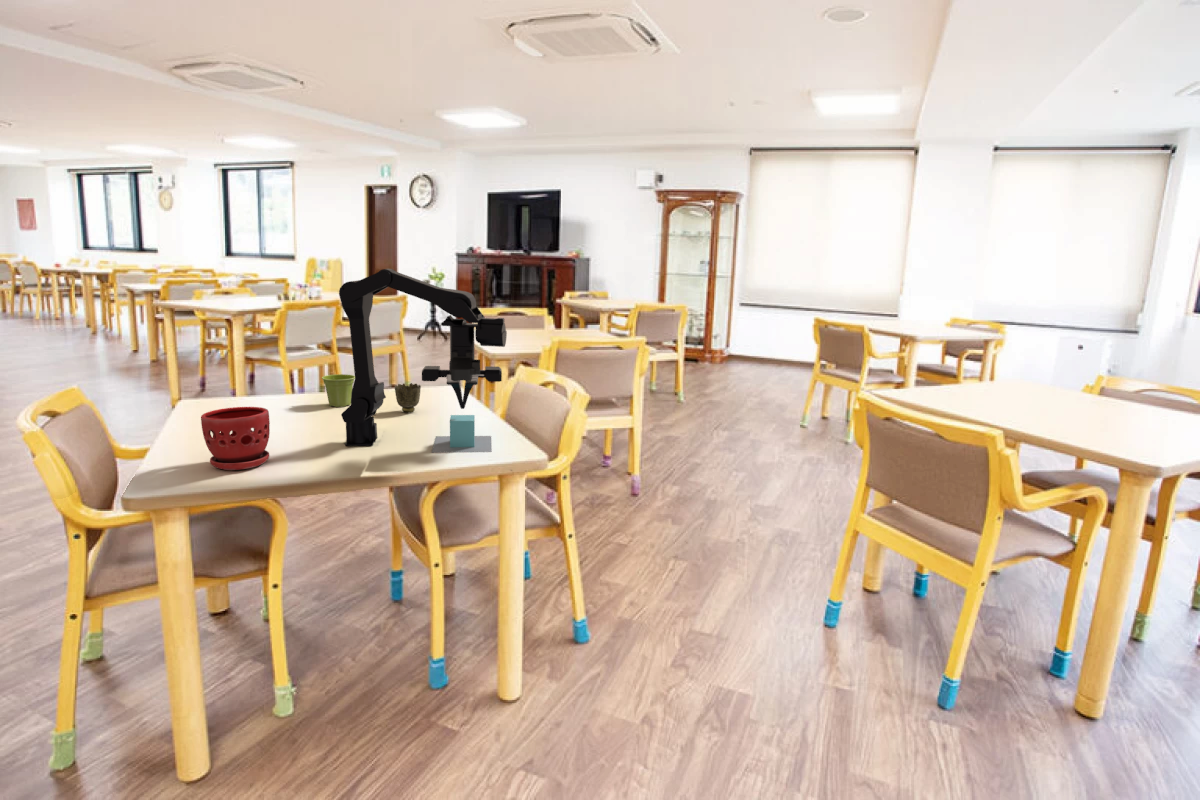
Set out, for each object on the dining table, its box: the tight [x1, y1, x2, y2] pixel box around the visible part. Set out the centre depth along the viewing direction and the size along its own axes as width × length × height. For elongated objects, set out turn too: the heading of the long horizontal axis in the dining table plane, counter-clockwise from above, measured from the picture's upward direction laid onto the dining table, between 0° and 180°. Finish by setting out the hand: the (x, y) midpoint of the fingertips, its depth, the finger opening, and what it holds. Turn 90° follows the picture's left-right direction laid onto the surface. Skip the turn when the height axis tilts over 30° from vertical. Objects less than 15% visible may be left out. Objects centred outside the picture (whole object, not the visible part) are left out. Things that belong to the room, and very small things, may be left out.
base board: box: [431, 435, 493, 454], centre depth 170 cm, size 14×14×1 cm
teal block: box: [449, 414, 476, 447], centre depth 169 cm, size 6×6×7 cm
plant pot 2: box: [321, 373, 355, 408], centre depth 207 cm, size 9×9×9 cm
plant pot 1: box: [200, 406, 271, 471], centre depth 150 cm, size 13×13×12 cm
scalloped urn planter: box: [393, 382, 422, 414], centre depth 202 cm, size 8×7×8 cm
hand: (462, 408), depth 168 cm, fingers closed
